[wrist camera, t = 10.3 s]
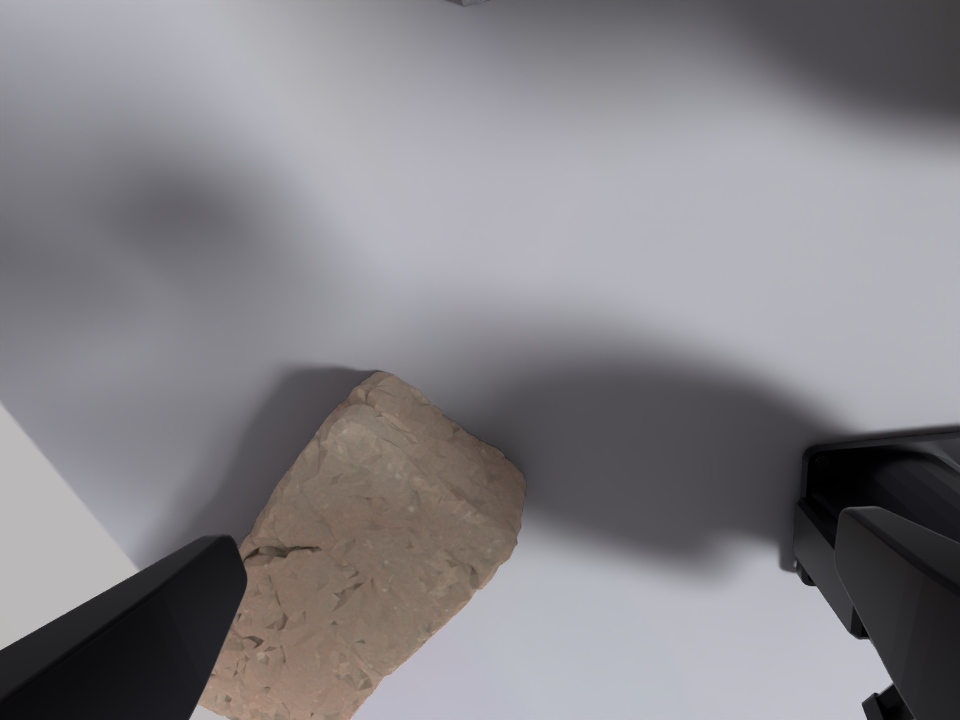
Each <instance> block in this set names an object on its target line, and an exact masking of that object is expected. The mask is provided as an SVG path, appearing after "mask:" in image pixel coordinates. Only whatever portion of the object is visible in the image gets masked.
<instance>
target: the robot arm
mask: <svg viewBox="0 0 960 720" xmlns="http://www.w3.org/2000/svg"><path fill="white" fill-rule="evenodd" d="M822 456H824V457H823V459H822V460H821V461H819V462H815V461H816V459H818V458H819V457H822ZM793 553H794V554H795V556H796V557H797V568H796V571H797V574H798V576H799V577H800V579H801V580H802V582H803V583H804V584H806V585H808V586H817V587H818V589H819V590H820V592H821V593H822V595H823V596H824V598H825V599H826V600H827V602H828V603H829V605H830V606H831V608H832V609H833V611H834V612H835V613H836V615H837V616H838V618H839V619H840V621H841V622H842V624H843V625H844V626H845V628H846V629H847V631H848V632H849V633H850V634H851V635H853V636H854V637H855V638H857V639H869V640H870V642H871V643H872V644H873V646H874V647H875V648H876V650H877V652H878V654H879V656H880V658H881V660H882V662H883V664H884V666H885V668H886V670H887V672H888V674H889V675H890V677H891V679H892V681H893V683H892V684H891V685H890V686H889V687H887V688H886V689H885V690H884V691H882V692H881V693H880V694H878V693H874V694H872V695H871V696H870V697H869V698H867V699H866V700H865V701H864V702H862V707H863V709H864V712H865V715H866V717H867V720H960V432H954V433H943V434H933V435H922V436H911V437H900V438H890V439H879V440H868V441H857V442H847V443H836V444H825V445H816V446H812V447H810V448H809V449H807V450H806V451H805V453H804V454H803V458H802V476H801V494H800V498H799V499H798V500H797V502H796V503H795V519H794V539H793ZM247 581H248V578H247V572H246V569H245V566H244V564H243V561H242V558H241V555H240V553H239V550H238V547H237V545H236V542H235V540H234V539H233V538H232V537H231V536H230V535H227V534H221V535H206V536H203V537H201V538H199V539H197V540H195V541H193V542H192V543H190V544H188V545H186V546H184V547H183V548H181V549H179V550H177V551H176V552H174V553H172V554H170V555H169V556H167V557H165V558H163V559H161V560H160V561H158V562H156V563H154V564H153V565H151V566H149V567H147V568H145V569H144V570H142V571H140V572H138V573H137V574H135V575H133V576H131V577H130V578H128V579H126V580H124V581H122V582H121V583H119V584H117V585H115V586H114V587H112V588H110V589H109V590H106V591H105V592H103V593H101V594H100V595H98V596H96V597H94V598H92V599H91V600H89V601H87V602H85V603H83V604H82V605H80V606H78V607H76V608H75V609H73V610H71V611H69V612H68V613H66V614H64V615H62V616H60V617H59V618H57V619H55V620H53V621H52V622H50V623H48V624H46V625H45V626H43V627H41V628H39V629H38V630H36V631H34V632H32V633H30V634H28V635H27V636H25V637H23V638H21V639H20V640H18V641H16V642H14V643H13V644H11V645H9V646H7V647H5V648H4V649H2V650H0V720H189V719H190V717H191V715H192V713H193V711H194V709H195V707H196V705H197V703H198V701H199V699H200V697H201V695H202V693H203V691H204V689H205V687H206V685H207V682H208V680H209V678H210V676H211V673H212V671H213V669H214V666H215V664H216V661H217V659H218V657H219V654H220V652H221V649H222V647H223V645H224V642H225V640H226V637H227V635H228V632H229V630H230V628H231V625H232V623H233V620H234V618H235V616H236V613H237V611H238V608H239V606H240V603H241V601H242V599H243V596H244V594H245V591H246V588H247Z"/></svg>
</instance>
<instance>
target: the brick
mask: <svg viewBox="0 0 960 720" xmlns="http://www.w3.org/2000/svg"><path fill="white" fill-rule="evenodd" d="M526 487H527V486H526V483H525V479H524V476H523V474H522V473H521V472H520V471H519V470H518V468H517V467H516V466H515V465H514V464H513V463H512V462H510V461H509V460H507V459H505V456H504V454H503V453H502V452H501V451H500V450H498V449H497V448H496V447H492V446H490V445H488V444H486V443H485V442H481V441H479V440H478V439H477V438H476V437H475V436H473V435H470V434H468V433H467V432H466V431H465V430H464V429H462V428H461V427H460V426H459V425H458V424H457V423H456V422H454V421H451V420H450V419H449V418H447V417H445V416H444V415H443V413H442V411H441V410H439V409H438V408H437V407H435V406H434V405H432V404H431V403H430V402H429V401H428V400H427V398H426V397H425V396H424V395H423V394H422V393H420V392H419V391H418V390H417V389H416V388H414V387H412V386H410V385H408V384H406V383H405V382H403V381H402V380H400V379H399V378H398V377H396V376H395V375H393V374H389V373H385V372H380V371H379V372H374V373H373V374H372V375H371V376H370V377H369V378H367V379H365V380H363V381H362V382H361V383H360V385H359V386H356V387H355V388H353V389H352V391H351V393H350V394H349V396H348V398H347V399H346V400H345V401H343V402H342V403H341V404H339V405H338V406H337V407H336V408H335V409H334V410H333V411H332V413H331V414H330V415H329V416H328V417H327V418H326V419H325V421H324V422H323V423H322V425H321V426H320V428H319V429H318V431H317V432H316V433H315V436H314V437H313V438H312V439H311V440H310V441H309V443H308V444H307V445H306V446H305V448H304V449H303V450H302V452H301V453H300V454H299V456H298V457H297V459H296V461H295V462H294V463H293V465H292V466H291V467H290V468H289V470H288V471H287V472H286V473H285V474H284V476H283V477H282V478H281V480H280V481H279V483H278V484H277V486H276V487H275V489H274V491H273V493H272V494H271V496H270V498H269V500H268V502H267V504H266V506H265V507H264V509H263V510H262V511H261V512H260V513H259V515H258V517H257V519H256V521H255V524H254V527H253V529H252V531H251V532H250V533H249V534H248V535H247V536H246V538H245V539H244V541H243V543H242V544H241V546H240V548H239V549H238V550H239V553H240V555H241V558H242V561H243V564H244V566H245V569H246V572H247V578H248V581H247V588H246V591H245V594H244V596H243V599H242V601H241V603H240V606H239V608H238V611H237V613H236V616H235V618H234V620H233V623H232V625H231V628H230V630H229V632H228V635H227V637H226V640H225V642H224V645H223V647H222V649H221V652H220V654H219V657H218V659H217V661H216V664H215V666H214V669H213V671H212V673H211V676H210V678H209V680H208V682H207V685H206V687H205V689H204V691H203V693H202V695H201V697H200V699H199V701H198V703H197V704H199V705H201V706H203V707H205V708H207V709H209V710H211V711H213V712H214V713H216V714H218V715H222V716H226V717H227V718H229V719H230V720H350V719H351V717H352V716H353V715H354V714H355V712H356V711H357V710H358V709H359V708H360V706H361V705H362V704H363V703H364V701H365V700H366V698H367V697H368V696H370V695H371V694H372V693H373V691H374V690H375V689H376V687H377V686H378V685H379V683H380V682H381V680H382V679H383V677H384V676H386V675H389V674H391V673H392V672H393V671H395V670H396V669H397V668H398V667H399V666H400V665H401V664H403V663H404V662H405V661H406V660H407V659H408V658H410V657H411V656H412V655H413V654H414V653H415V652H416V651H417V650H418V649H419V648H420V647H421V646H422V645H423V644H424V643H425V642H426V641H427V640H428V639H429V638H430V637H431V636H433V635H434V634H435V633H436V632H437V631H438V630H439V629H441V628H442V627H443V626H444V625H445V624H446V623H447V622H448V621H449V620H450V619H451V618H452V617H453V616H454V615H456V614H457V613H458V612H459V611H460V610H461V609H462V608H463V607H464V606H465V605H466V604H467V603H468V602H469V601H470V599H471V598H472V596H473V595H474V593H475V591H476V590H478V589H482V588H483V587H484V586H485V585H486V584H487V583H488V582H489V581H490V580H491V579H492V577H493V576H494V574H495V572H496V571H497V569H498V567H499V566H500V565H501V564H503V563H504V562H505V561H507V560H508V559H509V558H510V556H511V554H512V551H513V549H514V547H515V546H516V545H517V544H518V542H517V535H518V533H519V530H520V528H521V515H522V510H523V501H524V496H525V493H526Z"/></svg>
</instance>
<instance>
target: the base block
mask: <svg viewBox="0 0 960 720" xmlns="http://www.w3.org/2000/svg"><path fill="white" fill-rule="evenodd" d="M461 1H462V3H463V6H464V7H465V6H469V5H473V4H477V3H481V2H485V1H489V0H461Z"/></svg>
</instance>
